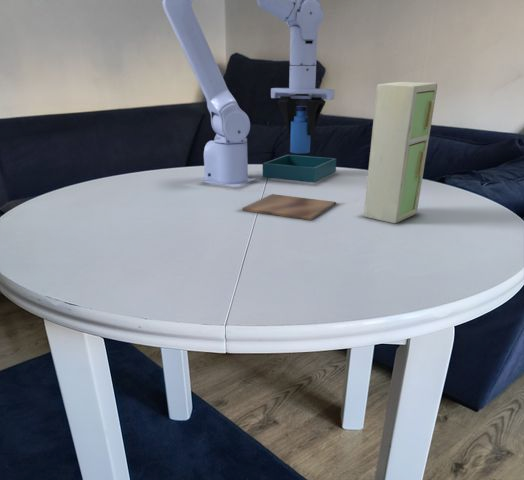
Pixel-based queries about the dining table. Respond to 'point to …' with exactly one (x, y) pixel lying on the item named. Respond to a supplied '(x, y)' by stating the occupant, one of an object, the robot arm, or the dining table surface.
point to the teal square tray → (299, 168)
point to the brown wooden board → (290, 206)
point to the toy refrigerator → (398, 149)
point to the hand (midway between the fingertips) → (300, 134)
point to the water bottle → (300, 132)
